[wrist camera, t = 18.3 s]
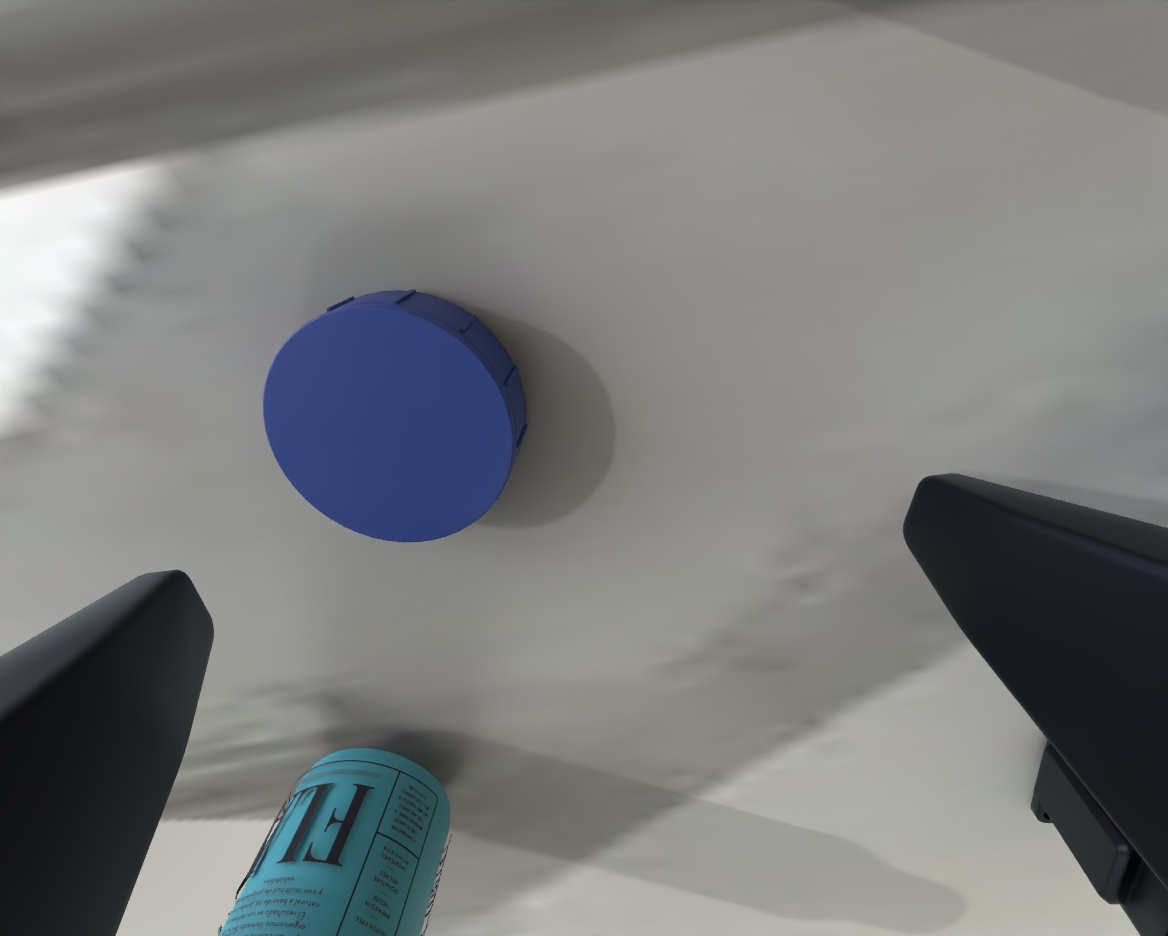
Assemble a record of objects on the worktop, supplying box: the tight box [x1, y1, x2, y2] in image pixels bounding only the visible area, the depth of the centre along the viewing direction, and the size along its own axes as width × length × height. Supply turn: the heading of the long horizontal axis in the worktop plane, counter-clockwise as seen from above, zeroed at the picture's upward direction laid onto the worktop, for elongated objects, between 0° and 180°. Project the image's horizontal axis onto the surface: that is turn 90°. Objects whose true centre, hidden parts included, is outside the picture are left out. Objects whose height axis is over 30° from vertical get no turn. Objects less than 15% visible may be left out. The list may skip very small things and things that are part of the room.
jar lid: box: [263, 289, 528, 542], centre depth 19 cm, size 7×7×2 cm
